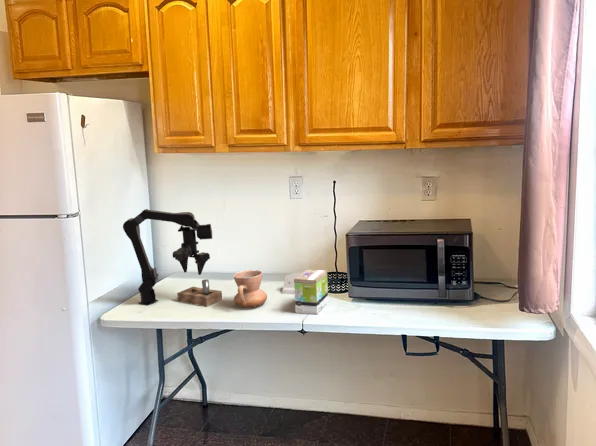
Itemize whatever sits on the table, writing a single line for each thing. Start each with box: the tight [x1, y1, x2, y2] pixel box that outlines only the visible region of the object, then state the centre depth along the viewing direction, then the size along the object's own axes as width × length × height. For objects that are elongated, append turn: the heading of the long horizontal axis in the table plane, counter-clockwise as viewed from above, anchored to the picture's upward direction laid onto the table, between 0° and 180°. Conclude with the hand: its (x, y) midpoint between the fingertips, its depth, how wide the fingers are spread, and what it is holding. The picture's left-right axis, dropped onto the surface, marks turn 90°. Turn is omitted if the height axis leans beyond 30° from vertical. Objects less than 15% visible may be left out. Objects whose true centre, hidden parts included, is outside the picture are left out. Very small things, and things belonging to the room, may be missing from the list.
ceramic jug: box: [233, 269, 268, 309], centre depth 235 cm, size 18×14×14 cm
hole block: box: [176, 286, 223, 307], centre depth 247 cm, size 18×10×4 cm, turn 56°
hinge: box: [281, 272, 302, 295], centre depth 250 cm, size 17×5×10 cm, turn 69°
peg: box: [201, 279, 210, 295], centre depth 244 cm, size 3×3×10 cm
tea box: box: [294, 269, 329, 315], centre depth 227 cm, size 15×10×15 cm, turn 160°
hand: (192, 273), depth 249 cm, fingers open, 9 cm apart
